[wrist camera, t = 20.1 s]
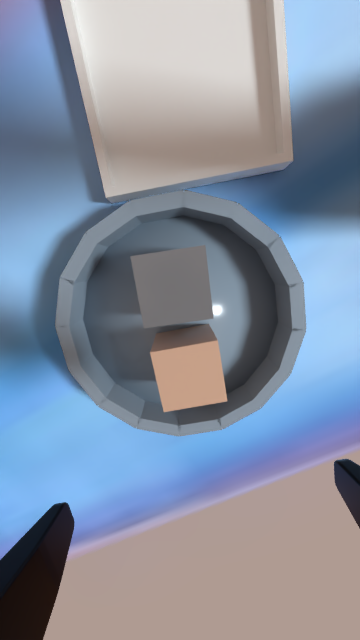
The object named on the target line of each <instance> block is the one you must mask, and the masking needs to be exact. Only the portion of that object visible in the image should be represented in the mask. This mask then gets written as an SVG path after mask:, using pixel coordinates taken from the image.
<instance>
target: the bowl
mask: <svg viewBox="0 0 360 640" xmlns="http://www.w3.org/2000/svg"><path fill="white" fill-rule="evenodd" d="M202 245H205V247H206V255H207V264H208V273H209V282H210V290H211V299H212V308H213V317H214V319H207V320H200V321H193V322H186V323H179V324H172V325H165V326H158V327H151V328H144V327H143V321H142V316H141V311H140V305H139V300H138V295H137V289H136V284H135V279H134V273H133V268H132V262H131V257H130V256H135V255H142V254H149V253H155V252H162V251H169V250H175V249H182V248H189V247H195V246H202ZM60 277H61V278H60V279H59V289H58V299H57V309H56V319H55V328H56V331H57V335H58V338H59V341H60V344H61V347H62V351H63V354H64V357H65V360H66V363H67V367H68V370H70V371H69V372H70V373H71V374H72V376H73V377H74V378H75V379H76V380H77V382H78V383H79V384H80V385H81V387H82V388H83V389H84V390H85V391H86V393H87V394H88V395H89V396H90V398H91V399H92V400H93V401H94V402H95V404H96V405H97V406H98V405H99V406H98V407H100V408H101V409H103V410H105V411H107V412H108V413H110V414H112V415H113V416H115V417H117V418H119V419H120V420H122V421H124V422H126V423H127V424H129V425H131V426H132V427H134V428H136V427H137V429H141V430H146V431H152V432H157V433H163V434H168V435H174V436H185V435H191V434H198V433H204V432H210V431H216V430H222V429H224V428H226V427H228V426H230V425H232V424H233V423H235V422H237V421H239V420H241V419H243V418H244V417H246V416H248V415H250V414H252V413H253V412H255V411H257V410H259V409H261V408H262V407H263V406H264V404H265V403H266V402H267V401H268V400H269V399H270V398H271V396H272V395H273V394H274V393H275V392H276V391H277V389H278V388H279V387H280V386H281V385H282V384H283V382H284V381H285V380H286V379H287V378H288V377H289V376H290V373H291V372H292V369H293V366H294V364H295V361H296V358H297V355H298V352H299V349H300V347H301V344H302V341H303V338H304V335H305V332H306V317H305V300H304V283H303V282H302V281H303V280H302V278H301V276H300V274H299V272H298V270H297V268H296V266H295V264H294V262H293V260H292V258H291V256H290V254H289V252H288V251H287V249H286V247H285V245H284V243H283V241H282V239H281V237H279V235H278V234H277V233H276V232H274V231H273V230H272V229H271V228H269V227H268V226H267V225H266V224H264V223H263V222H262V221H260V220H259V219H258V218H257V217H255V216H254V215H253V214H252V213H250V212H249V211H248V210H247V209H245V208H244V207H243V206H241V205H240V204H239V203H238V204H237V202H233V201H229V200H225V199H221V198H217V197H213V196H208V195H204V194H200V193H196V192H192V191H188V190H184V191H183V190H179V191H174V192H169V193H164V194H159V195H154V196H149V197H144V198H139V199H134V200H130V202H129V201H128V202H126V203H125V204H124V205H122V206H121V207H119V208H118V209H117V210H115V211H114V212H113V213H111V214H110V215H108V216H107V217H106V218H104V219H103V220H101V221H100V222H99V223H97V224H96V225H95V226H93V227H92V228H90V229H89V230H88V231H86V233H85V234H84V235H83V237H82V239H81V241H80V242H79V244H78V246H77V248H76V249H75V251H74V253H73V255H72V256H71V258H70V260H69V262H68V263H67V265H66V267H65V269H64V271H63V272H62V274H61V276H60ZM205 324H209V325H210V327H211V329H212V330H213V332H214V334H215V336H216V338H217V340H218V344H219V350H220V357H221V363H222V369H223V376H224V382H225V388H226V395H227V401H226V402H221V403H215V404H209V405H203V406H197V407H192V408H186V409H180V410H174V411H168V412H164V411H163V407H162V402H161V398H160V394H159V389H158V385H157V381H156V376H155V372H154V368H153V363H152V359H151V355H150V351H151V348H152V345H153V342H154V339H155V336H156V333H161V332H167V331H172V330H177V329H183V328H188V327H194V326H199V325H205ZM260 407H261V408H260Z"/></svg>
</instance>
